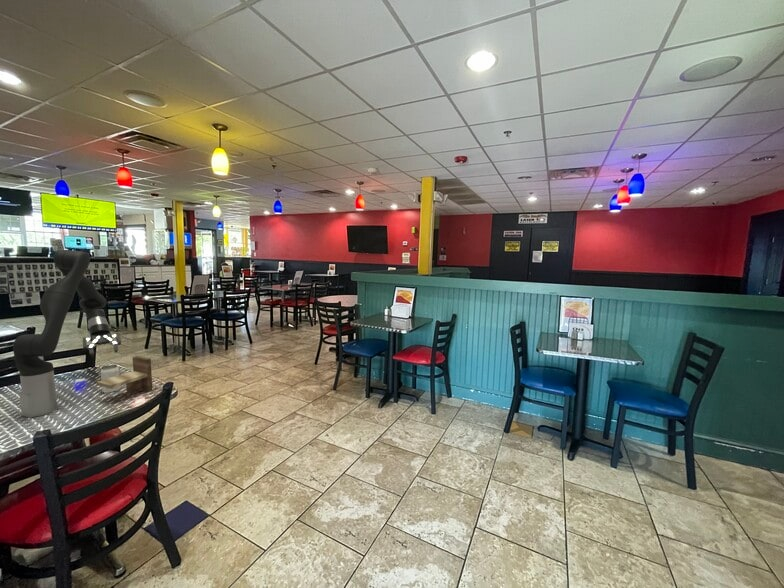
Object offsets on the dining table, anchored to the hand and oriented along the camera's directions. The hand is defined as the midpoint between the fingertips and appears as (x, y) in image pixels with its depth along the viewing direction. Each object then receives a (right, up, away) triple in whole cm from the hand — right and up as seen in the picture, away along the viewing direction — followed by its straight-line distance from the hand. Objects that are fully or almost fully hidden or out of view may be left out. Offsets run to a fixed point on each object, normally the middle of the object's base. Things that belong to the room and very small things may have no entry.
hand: (104, 353), depth 157 cm
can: (+7, -18, -4) cm, 19 cm away
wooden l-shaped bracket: (+18, -18, -9) cm, 27 cm away
